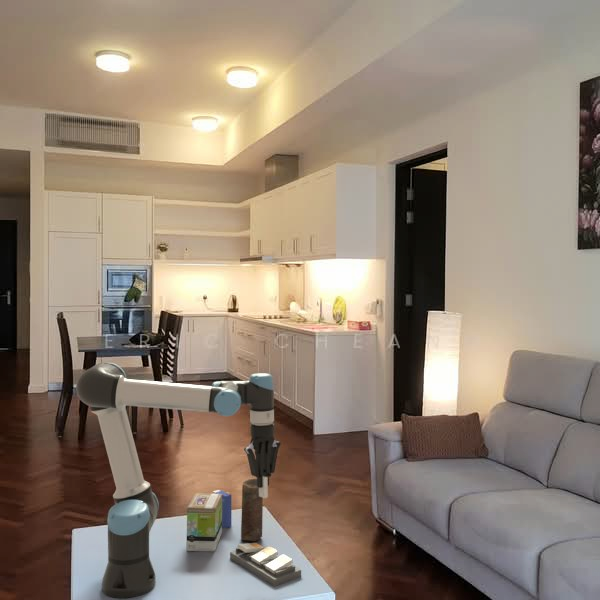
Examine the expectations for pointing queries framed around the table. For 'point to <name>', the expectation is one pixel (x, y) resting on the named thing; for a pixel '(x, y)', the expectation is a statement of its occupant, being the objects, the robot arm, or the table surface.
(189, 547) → the tea box
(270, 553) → the rocker middle
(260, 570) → the rocker switch panel
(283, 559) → the rocker near
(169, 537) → the table surface
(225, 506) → the walkman
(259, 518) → the brown weathered cylinder
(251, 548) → the rocker far
